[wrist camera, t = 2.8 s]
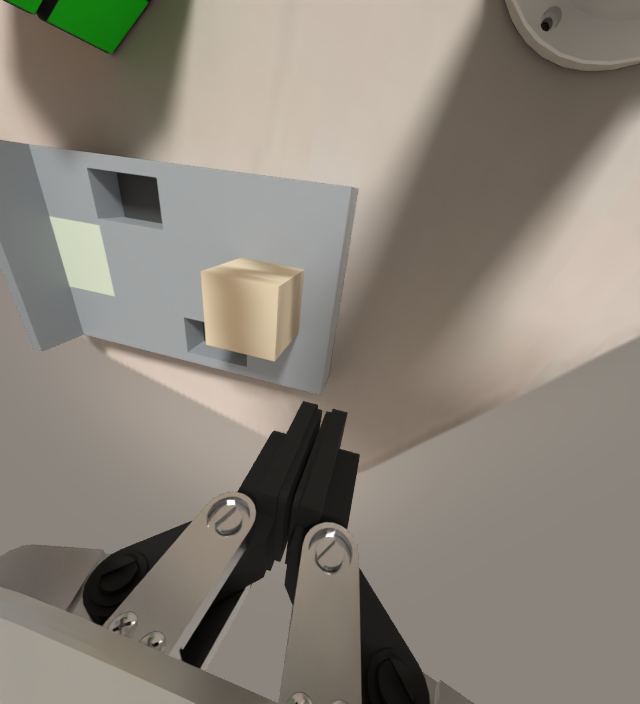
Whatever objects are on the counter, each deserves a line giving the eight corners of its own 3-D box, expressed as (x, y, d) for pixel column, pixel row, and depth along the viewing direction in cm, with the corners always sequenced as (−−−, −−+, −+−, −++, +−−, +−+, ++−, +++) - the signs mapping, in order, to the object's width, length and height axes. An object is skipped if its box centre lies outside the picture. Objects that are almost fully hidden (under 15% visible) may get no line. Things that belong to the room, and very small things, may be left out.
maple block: (304, 269, 21) (278, 286, 17) (298, 332, 24) (274, 361, 19) (240, 257, 22) (200, 271, 18) (241, 319, 24) (206, 344, 20)
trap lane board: (358, 189, 21) (339, 183, 15) (328, 377, 28) (307, 425, 22) (58, 149, 25) (-53, 132, 19) (101, 322, 33) (33, 349, 27)
